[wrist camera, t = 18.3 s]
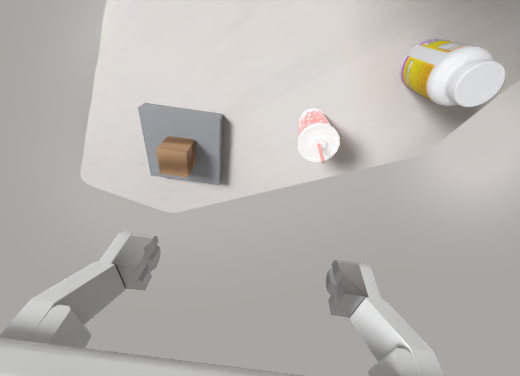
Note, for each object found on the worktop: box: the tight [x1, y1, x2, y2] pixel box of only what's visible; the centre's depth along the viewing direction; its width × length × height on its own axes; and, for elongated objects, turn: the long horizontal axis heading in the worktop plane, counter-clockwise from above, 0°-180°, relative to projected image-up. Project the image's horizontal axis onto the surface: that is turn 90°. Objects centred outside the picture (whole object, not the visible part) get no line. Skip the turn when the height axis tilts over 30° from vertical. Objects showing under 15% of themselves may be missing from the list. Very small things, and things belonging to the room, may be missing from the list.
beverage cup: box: [298, 108, 340, 163], centre depth 37 cm, size 6×6×14 cm
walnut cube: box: [156, 136, 196, 178], centre depth 43 cm, size 5×5×5 cm
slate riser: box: [138, 103, 223, 185], centre depth 46 cm, size 14×14×2 cm
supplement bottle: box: [400, 39, 505, 107], centre depth 31 cm, size 7×7×13 cm
